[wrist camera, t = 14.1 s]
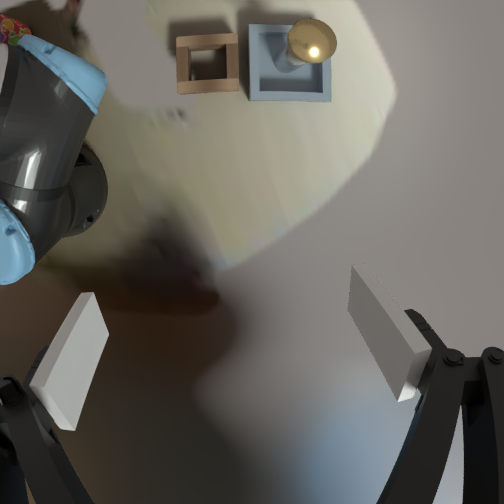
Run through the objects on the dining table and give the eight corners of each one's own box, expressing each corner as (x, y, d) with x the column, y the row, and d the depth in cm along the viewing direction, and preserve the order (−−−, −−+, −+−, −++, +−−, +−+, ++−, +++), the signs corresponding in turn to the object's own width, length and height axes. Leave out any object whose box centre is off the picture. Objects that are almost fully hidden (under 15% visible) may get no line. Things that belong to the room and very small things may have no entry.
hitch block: (181, 94, 41) (177, 93, 37) (180, 43, 38) (176, 37, 34) (237, 91, 41) (239, 89, 38) (236, 39, 38) (237, 33, 34)
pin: (269, 78, 40) (289, 60, 26) (268, 47, 38) (287, 16, 24) (303, 79, 40) (337, 64, 27) (302, 48, 38) (335, 21, 25)
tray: (248, 100, 42) (250, 100, 39) (247, 30, 38) (248, 24, 34) (323, 102, 43) (331, 101, 40) (322, 33, 38) (329, 28, 35)
